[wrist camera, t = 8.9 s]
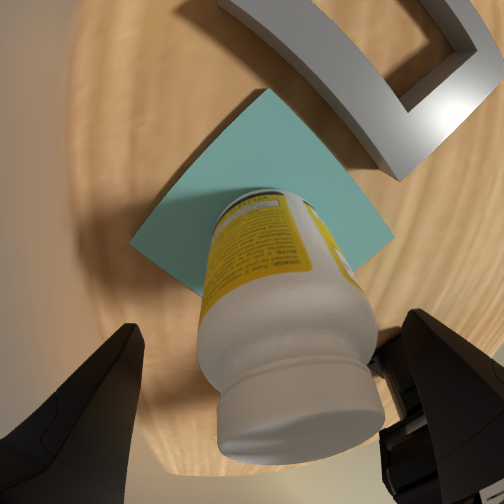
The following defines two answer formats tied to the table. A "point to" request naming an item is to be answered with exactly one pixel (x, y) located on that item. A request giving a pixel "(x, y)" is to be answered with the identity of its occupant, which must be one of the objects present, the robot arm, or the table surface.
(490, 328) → the table surface
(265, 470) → the table surface
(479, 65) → the socket block
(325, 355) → the supplement bottle
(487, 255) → the table surface
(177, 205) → the mat
